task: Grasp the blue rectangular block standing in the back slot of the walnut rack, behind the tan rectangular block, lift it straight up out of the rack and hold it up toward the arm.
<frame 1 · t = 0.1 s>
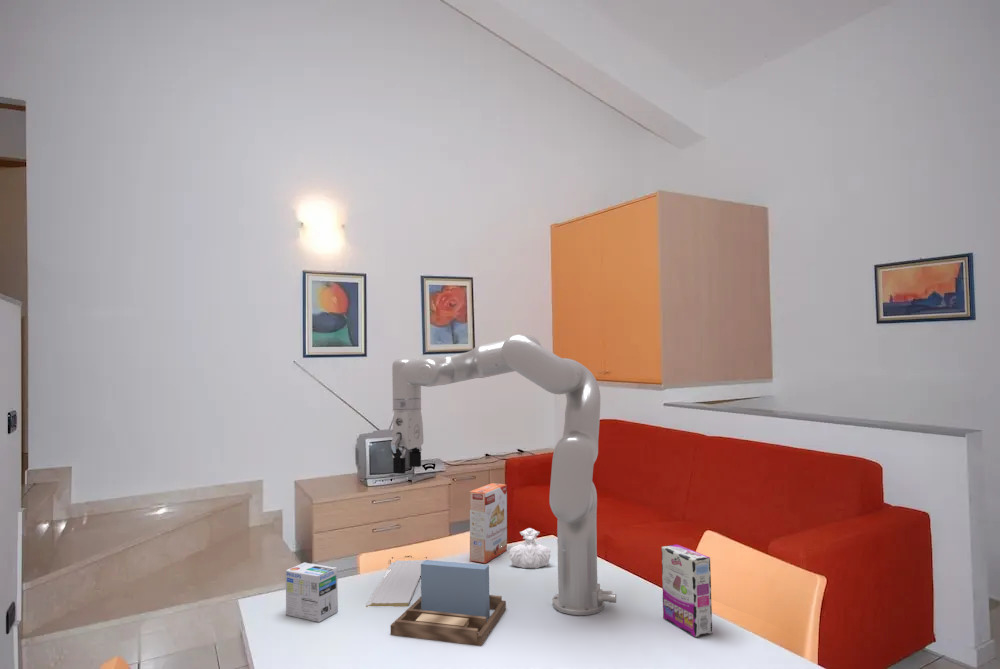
hand: (407, 469, 160), 31 cm above the table, tool pointing down, fingers open, 9 cm apart
blue rectangular block: (455, 616, 141), resting in rack
baseboard molding: (396, 586, 163), on the table
tied white plastic bag: (530, 565, 175), on the table
cracker box: (489, 556, 184), on the table
candy bar box: (687, 626, 134), on the table
rack: (452, 619, 139), on the table
light bulb box: (311, 614, 144), on the table
tan rectangular block: (441, 634, 132), resting in rack
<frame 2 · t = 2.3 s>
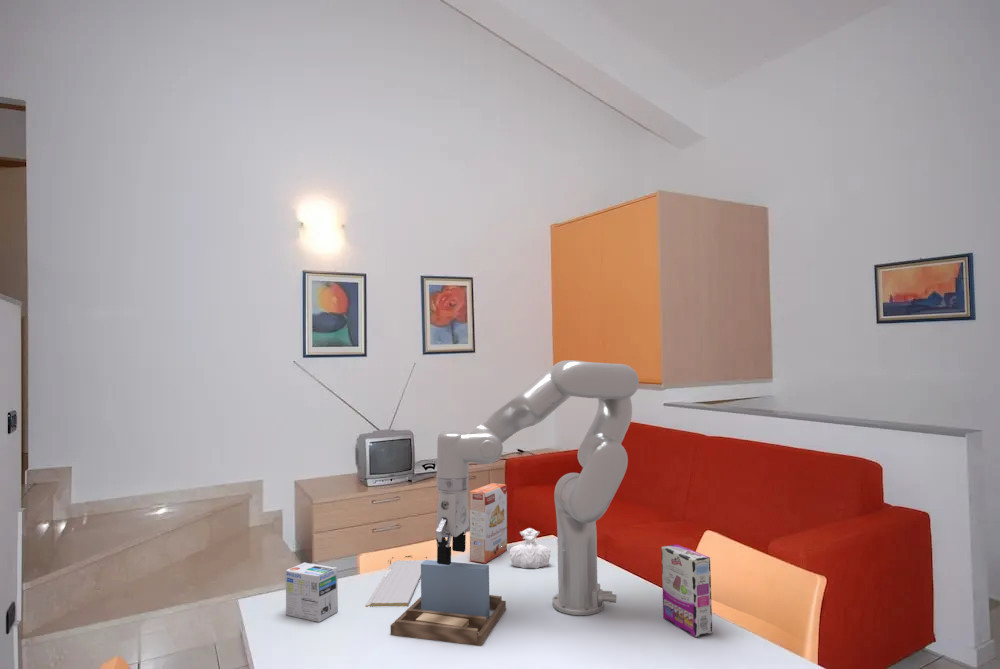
hand: (451, 557, 141), 14 cm above the table, tool pointing down, fingers open, 9 cm apart
nothing on the table moved.
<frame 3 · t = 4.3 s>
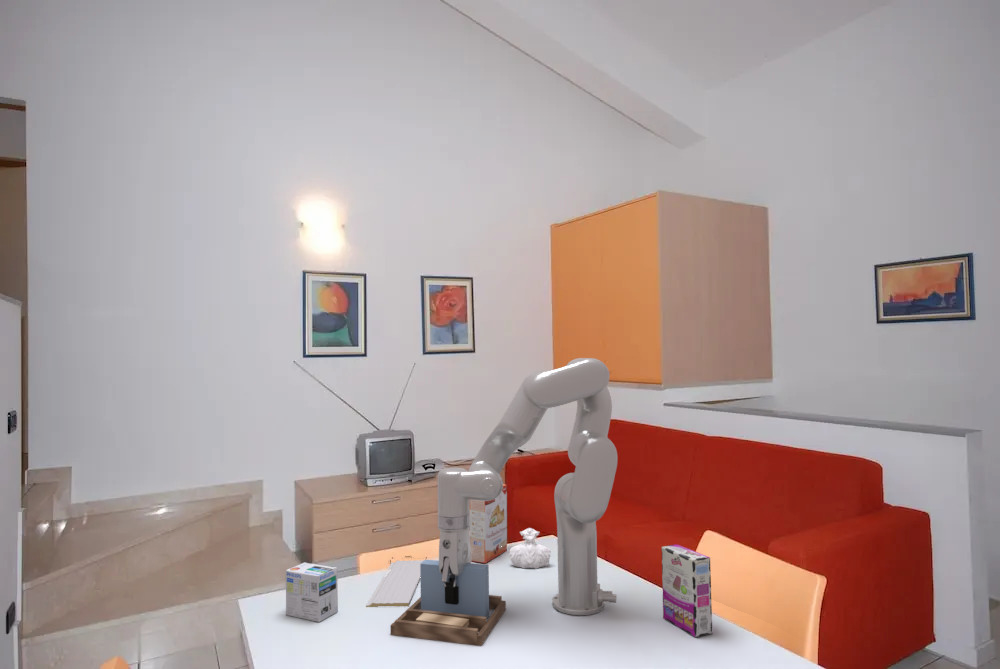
hand: (454, 599, 141), 4 cm above the table, tool pointing down, fingers closed on blue rectangular block, 3 cm apart
blue rectangular block: (454, 616, 141), resting in rack, touching gripper
everything else where it was.
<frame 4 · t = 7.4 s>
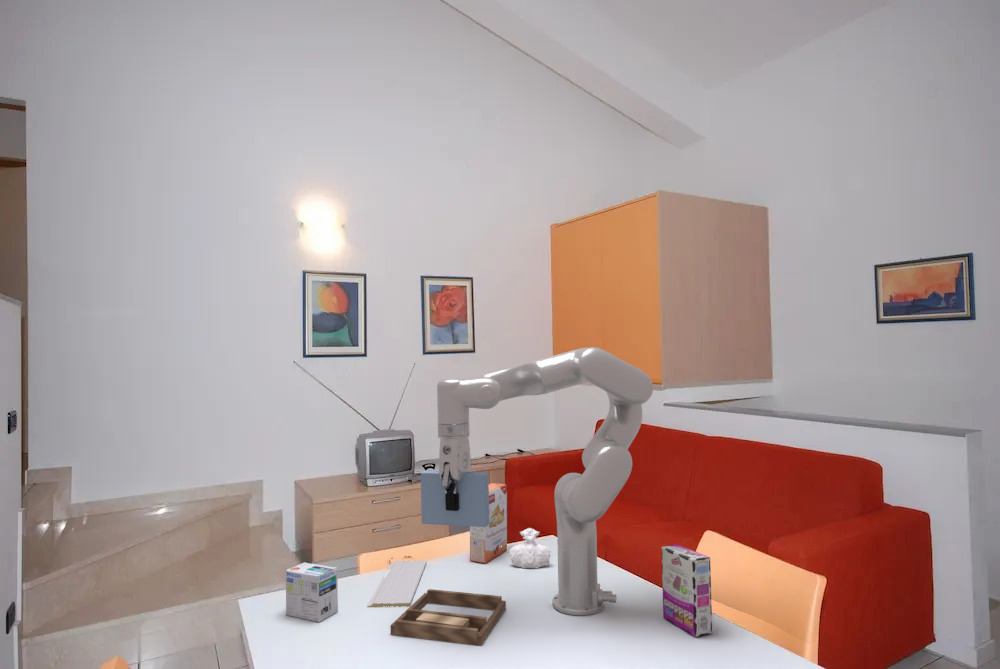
hand: (455, 507, 143), 25 cm above the table, tool pointing down, fingers closed on blue rectangular block, 3 cm apart
blue rectangular block: (455, 523, 142), point 21 cm above the table, touching gripper
everything else where it was.
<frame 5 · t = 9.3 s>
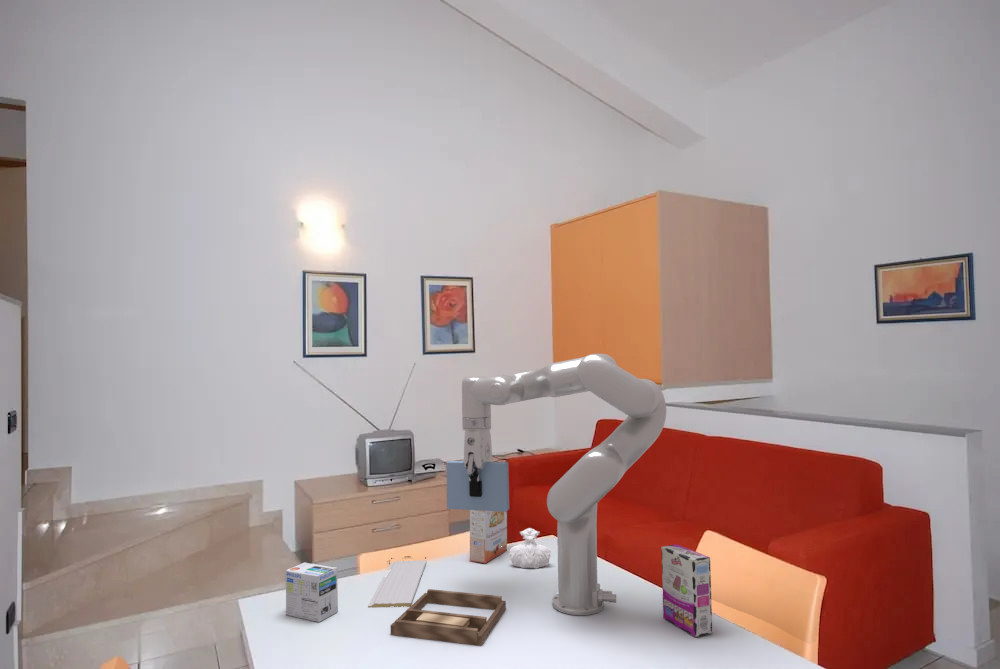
hand: (478, 494, 156), 25 cm above the table, tool pointing down, fingers closed on blue rectangular block, 3 cm apart
blue rectangular block: (478, 508, 156), point 21 cm above the table, touching gripper
everything else where it was.
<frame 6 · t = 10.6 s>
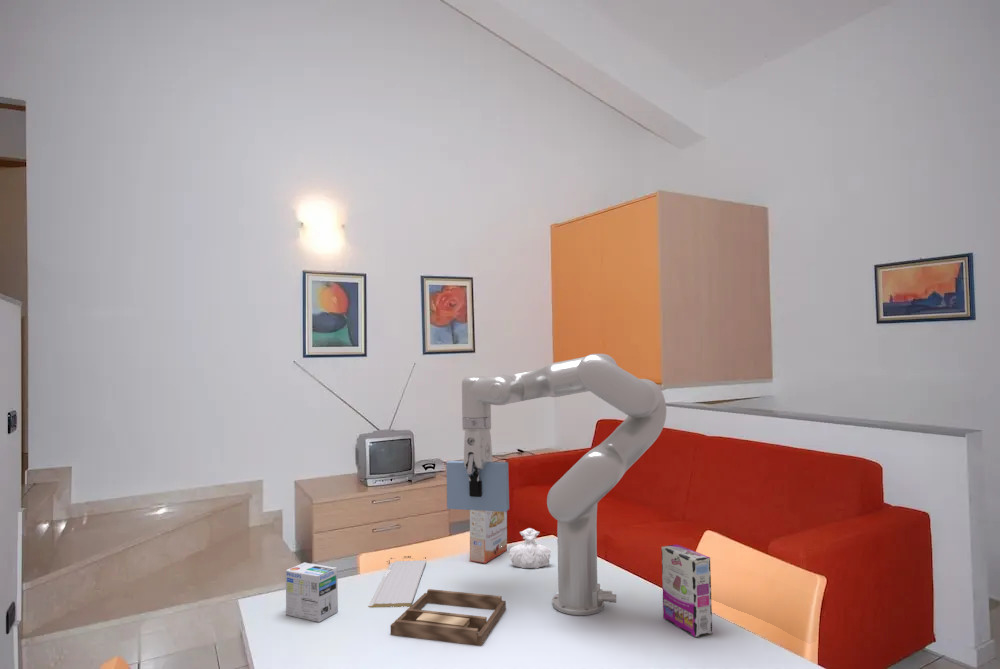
hand: (478, 494, 156), 25 cm above the table, tool pointing down, fingers closed on blue rectangular block, 3 cm apart
blue rectangular block: (478, 508, 156), point 21 cm above the table, touching gripper
everything else where it was.
at the end: the gripper is holding blue rectangular block; blue rectangular block inside the target area (0.7 cm from its centre), point 21.3 cm above the table; tan rectangular block moved 0.5 cm from its start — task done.
